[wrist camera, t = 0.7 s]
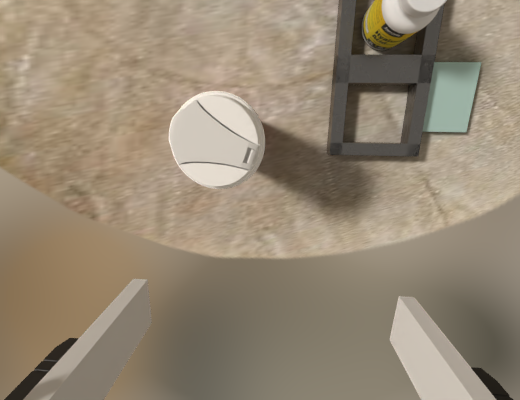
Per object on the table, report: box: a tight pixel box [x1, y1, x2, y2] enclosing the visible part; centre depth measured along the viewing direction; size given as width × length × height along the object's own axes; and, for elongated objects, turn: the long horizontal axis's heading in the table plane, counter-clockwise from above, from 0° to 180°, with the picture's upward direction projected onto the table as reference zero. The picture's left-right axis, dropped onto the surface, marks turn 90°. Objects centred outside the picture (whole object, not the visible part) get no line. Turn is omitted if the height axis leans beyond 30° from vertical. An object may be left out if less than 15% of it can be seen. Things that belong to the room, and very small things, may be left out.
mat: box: [422, 62, 481, 132], centre depth 33 cm, size 8×6×1 cm
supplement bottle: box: [362, 0, 447, 50], centre depth 27 cm, size 5×5×10 cm
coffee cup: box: [169, 91, 265, 189], centre depth 29 cm, size 8×8×15 cm
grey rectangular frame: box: [327, 0, 444, 156], centre depth 32 cm, size 20×11×2 cm, turn 179°
